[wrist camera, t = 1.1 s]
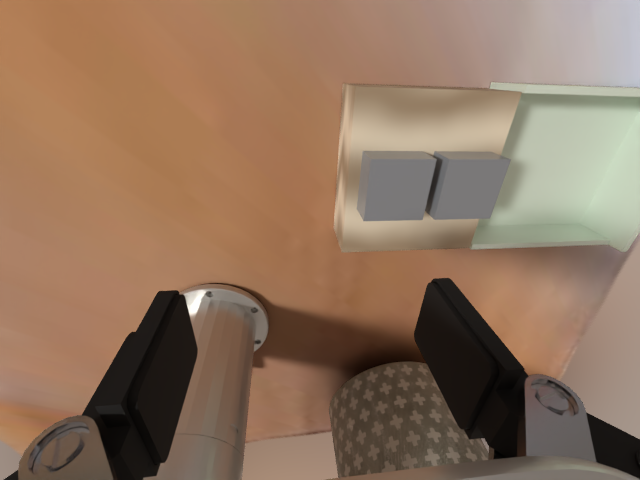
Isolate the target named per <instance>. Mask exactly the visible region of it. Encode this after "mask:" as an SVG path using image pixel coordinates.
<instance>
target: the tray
mask: <svg viewBox="0 0 640 480" xmlns="http://www.w3.org/2000/svg"><path fill="white" fill-rule="evenodd" d="M490 89H497V90H508V91H519V92H522V94H521V97H520V100H519V103H518V106H517V109H516V112H515V115H514V118H513V121H512V124H511V127H510V130H509V133H508V135H507V138H506V141H505V144H504V147H503V150H502V153H501V156H504V157H506V158H509V159H511V161H510V164H509V167H508V170H507V173H506V175H505V178H504V181H503V184H502V187H501V189H500V192H499V195H498V198H497V201H496V203H495V206H494V209H493V212H492V215H491V217H490V219H479V222H478V225H477V228H476V230H475V233H474V236H473V239H472V242H471V245H470V249H499V248H528V247H557V246H586V245H609V246H611V247H613V248H615V249H617V250H619V251H621V252H627V251H628V249H629V248H630V246H631V244H632V243H633V241H634V240H635V238H636V237H637V235H638V234H639V232H640V88H637V87H610V86H582V85H555V84H527V83H500V82H491V85H490Z"/></svg>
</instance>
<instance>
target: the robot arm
mask: <svg viewBox="0 0 640 480" xmlns="http://www.w3.org/2000/svg"><path fill="white" fill-rule="evenodd" d="M268 328H269V320H268V315H267V312H266V310H265V308H264V307H263V305H262V304H261V303H260V302H259V301H258V300H257V299H256V298H255V297H254V296H252V295H251V294H249V293H248V292H246V291H244V290H242V289H239V288H236V287H233V286H229V285H222V284H205V285H198V286H194V287H191V288H188V289H186V290H184V291H182V292H180V293H179V292H178V291H177V290H174V291H159V292H158V293H157V295H156V296H155V298H154V300H153V302H152V304H151V306H150V307H149V309H148V311H147V313H146V315H145V316H144V318H143V320H142V322H141V324H140V325H139V327H138V329H137V331H136V332H132V333H130V334H129V335H128V336H127V338H126V339H125V341H124V343H123V344H122V346H121V348H120V350H119V351H118V353H117V355H116V357H115V358H114V360H113V362H112V364H111V365H110V367H109V369H108V370H107V372H106V374H105V376H104V377H103V379H102V381H101V383H100V384H99V386H98V388H97V390H96V391H95V393H94V395H93V396H92V398H91V400H90V402H89V403H88V405H87V407H86V409H85V410H84V412H83V414H82V416H79V415H77V416H73V417H69V418H66V419H63V420H61V421H59V422H57V423H55V424H53V425H52V426H50V427H49V428H47V429H46V430H44V431H43V432H42V433H41V434H40V435H39V436H37V437H36V438H35V439H34V440H33V441H32V443H31V444H30V445H29V446H28V448H27V449H26V450H25V452H24V454H23V456H22V458H21V460H20V462H19V468H18V470H17V471H16V472H14V473H13V474H11V475H10V476H8V477H7V478H6V479H4V480H242V471H243V459H244V449H245V439H246V428H247V418H248V407H249V397H250V386H251V376H252V365H253V355H254V352H255V351H256V350H257V349H258V348H259V347H260V346H261V345H262V344H263V343H264V341H265V339H266V337H267V334H268ZM414 337H415V341H416V344H417V346H418V348H419V350H420V352H421V354H422V356H423V357H424V359H425V361H426V363H427V365H428V367H429V369H430V371H431V373H432V375H433V377H434V379H435V381H436V383H437V385H438V387H439V389H440V391H441V393H442V395H443V397H444V399H445V401H446V403H447V405H448V407H449V409H450V411H451V413H452V415H453V417H454V419H455V421H456V423H457V425H458V427H459V428H460V429H464V431H465V433H466V435H467V437H468V439H469V440H471V439H480V438H485V440H486V442H487V444H488V445H489V456H488V460H483V461H473V462H465V463H457V464H448V465H440V466H432V467H423V468H415V469H407V470H399V471H391V472H383V473H375V474H367V475H359V476H351V477H343V478H335V479H327V480H640V439H638V438H635V437H634V436H631V435H630V434H628V433H626V432H624V431H622V430H620V429H618V428H616V427H614V426H612V425H610V424H608V423H606V422H604V421H602V420H600V419H598V418H596V417H594V416H592V415H590V414H588V413H586V410H585V407H584V405H583V402H582V401H581V400H580V398H579V397H578V396H577V394H576V393H574V392H573V391H572V390H571V389H570V388H569V387H568V386H566V385H565V384H563V383H562V382H560V381H558V380H556V379H554V378H552V377H549V376H546V375H541V374H534V375H530V376H528V375H527V374H526V372H525V371H524V368H523V366H522V365H521V364H520V363H519V362H518V360H517V359H516V358H515V357H514V355H513V354H512V353H511V352H510V351H509V349H508V348H507V347H506V346H505V345H504V343H503V342H502V341H501V340H500V338H499V337H498V336H497V335H496V334H495V332H494V331H493V330H492V329H491V328H490V326H489V325H488V324H487V323H486V321H485V320H484V319H483V318H482V317H481V315H480V314H479V313H478V312H477V310H476V309H475V308H474V307H473V306H472V304H471V303H470V302H469V301H468V300H467V298H466V297H465V296H464V295H463V293H462V292H461V291H460V290H459V289H458V287H457V286H456V285H455V284H454V283H453V281H452V280H451V279H449V278H439V279H433V280H432V282H431V283H428V285H427V288H426V292H425V295H424V299H423V303H422V306H421V310H420V314H419V317H418V321H417V325H416V328H415V332H414Z"/></svg>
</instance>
